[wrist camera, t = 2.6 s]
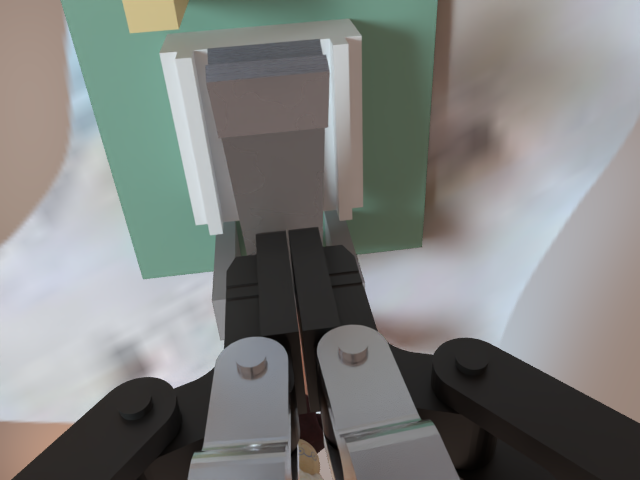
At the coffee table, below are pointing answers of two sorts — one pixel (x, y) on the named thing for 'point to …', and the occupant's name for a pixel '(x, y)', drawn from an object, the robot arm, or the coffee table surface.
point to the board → (157, 138)
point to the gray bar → (272, 132)
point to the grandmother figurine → (309, 440)
